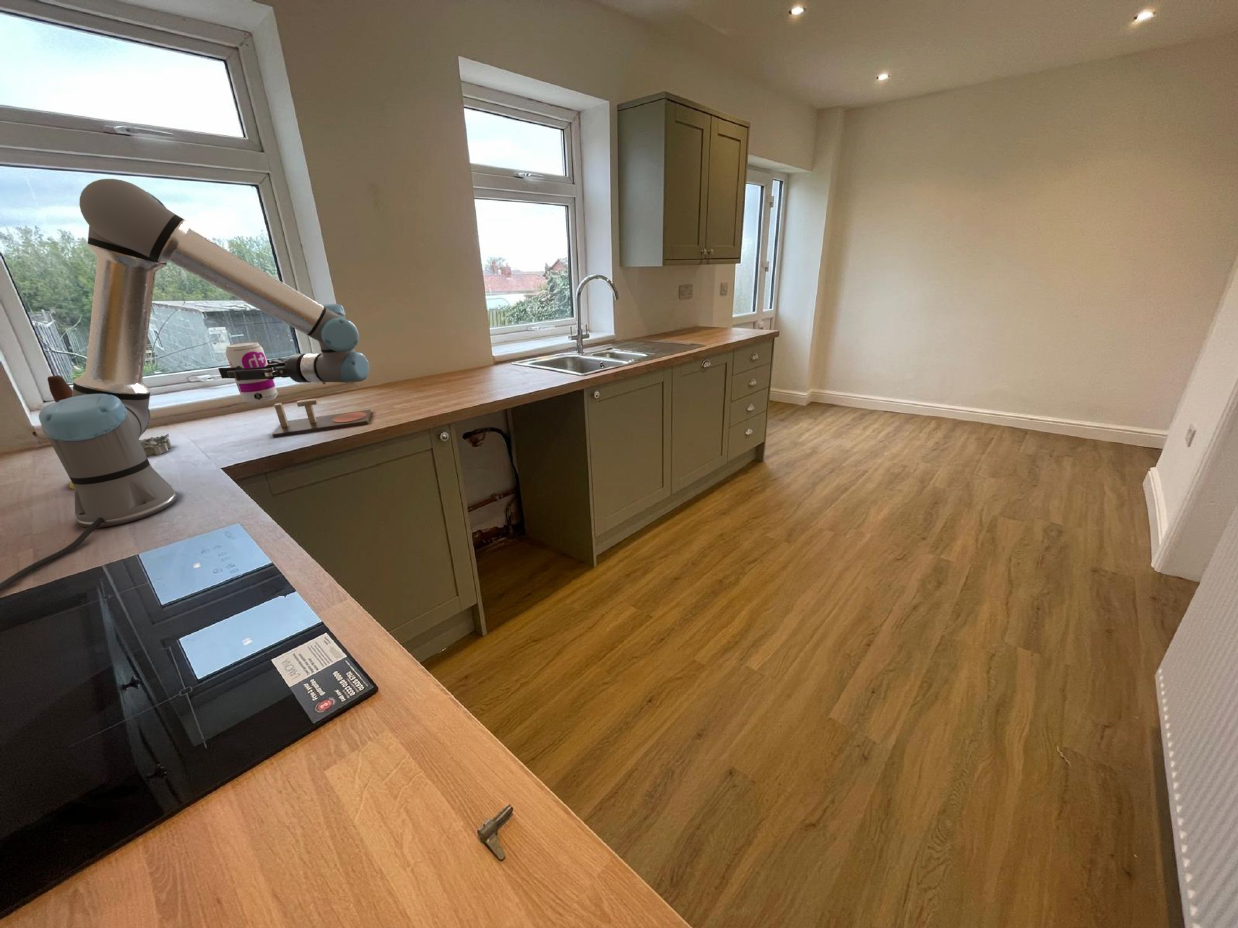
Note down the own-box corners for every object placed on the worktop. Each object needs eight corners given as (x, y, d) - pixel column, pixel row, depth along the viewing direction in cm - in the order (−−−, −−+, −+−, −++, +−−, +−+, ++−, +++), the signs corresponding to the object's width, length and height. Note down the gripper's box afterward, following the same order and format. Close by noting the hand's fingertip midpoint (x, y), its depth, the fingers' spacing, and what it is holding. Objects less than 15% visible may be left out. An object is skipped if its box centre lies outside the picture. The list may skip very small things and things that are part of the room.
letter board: (368, 423, 151) (361, 398, 148) (273, 437, 144) (264, 410, 141) (371, 412, 163) (365, 388, 159) (283, 424, 155) (275, 399, 152)
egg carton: (116, 461, 131) (109, 447, 130) (129, 452, 138) (122, 438, 136) (166, 453, 135) (159, 439, 133) (176, 445, 141) (170, 431, 140)
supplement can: (284, 397, 139) (266, 342, 133) (251, 405, 133) (231, 348, 127) (270, 394, 143) (252, 341, 137) (237, 401, 137) (217, 346, 131)
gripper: (283, 393, 123) (205, 393, 127) (340, 372, 142) (270, 373, 146) (273, 362, 120) (194, 363, 124) (332, 346, 139) (262, 347, 143)
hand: (235, 369), depth 135 cm, fingers closed on supplement can, 8 cm apart
